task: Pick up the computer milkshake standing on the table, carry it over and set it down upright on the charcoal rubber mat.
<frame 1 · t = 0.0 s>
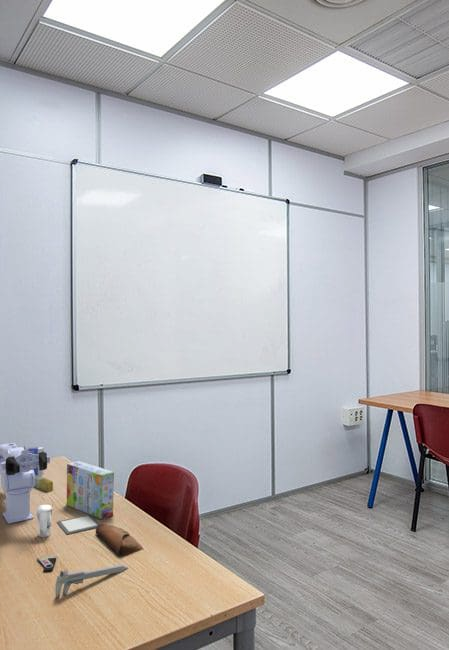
hand: (32, 467, 153), 22 cm above the table, tool horizontal, fingers open, 7 cm apart
sunglasses case: (119, 544, 151), on the table
usb flash drive: (44, 566, 137), on the table
milkshake: (45, 535, 155), on the table
mat: (78, 524, 163), on the table
caliper: (93, 583, 128), on the table
snack box: (89, 510, 176), on the table
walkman: (33, 476, 214), on the table
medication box: (41, 489, 198), on the table
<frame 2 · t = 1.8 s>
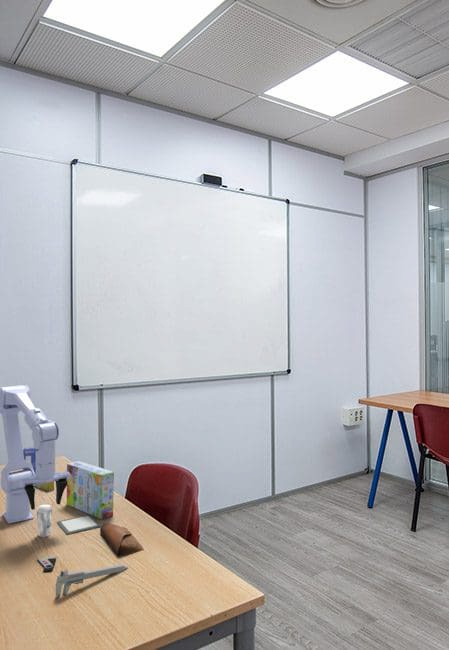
hand: (45, 506, 155), 9 cm above the table, tool pointing down, fingers open, 7 cm apart
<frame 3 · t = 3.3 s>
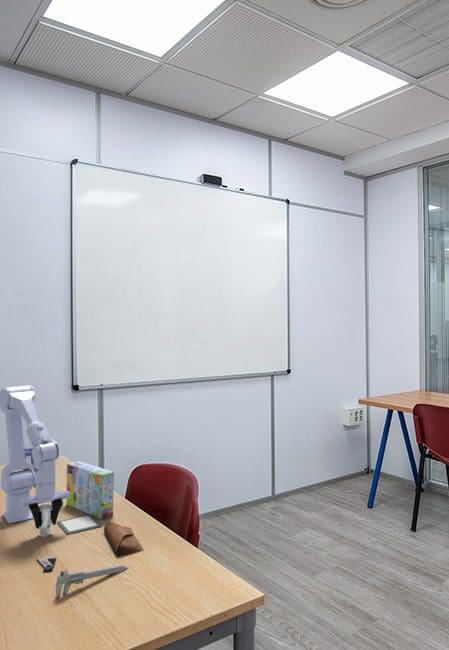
hand: (45, 525, 155), 3 cm above the table, tool pointing down, fingers closed on milkshake, 4 cm apart
milkshake: (45, 535, 155), on the table, touching gripper
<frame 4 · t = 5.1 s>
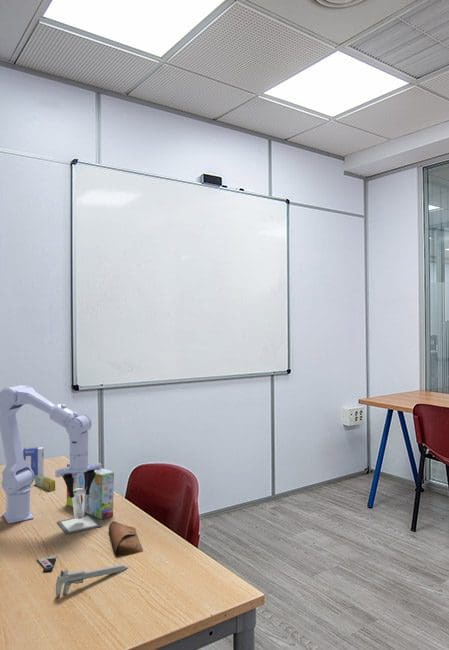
hand: (78, 495, 163), 10 cm above the table, tool pointing down, fingers closed on milkshake, 4 cm apart
milkshake: (80, 517, 163), point 2 cm above the table, touching gripper
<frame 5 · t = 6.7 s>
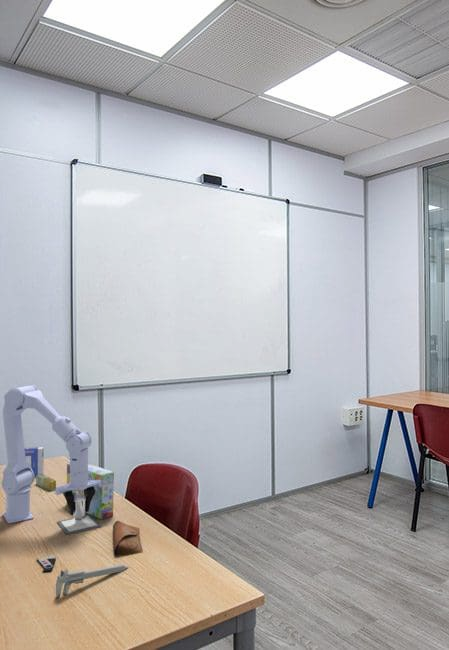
hand: (79, 512, 163), 4 cm above the table, tool pointing down, fingers closed on milkshake, 4 cm apart
milkshake: (80, 524, 163), on the table, touching gripper, mat
when the fingers open (4 cm above the table, at t = 6.9 s): milkshake stays where it is, resting on mat.
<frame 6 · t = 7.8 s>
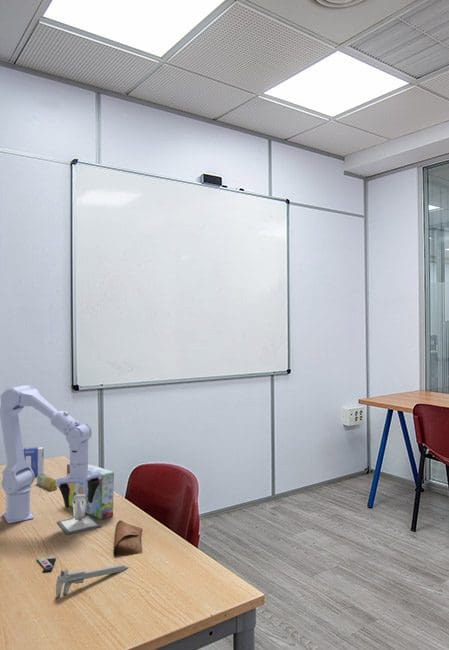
hand: (78, 504, 163), 7 cm above the table, tool pointing down, fingers open, 7 cm apart
milkshake: (80, 524, 163), resting on mat
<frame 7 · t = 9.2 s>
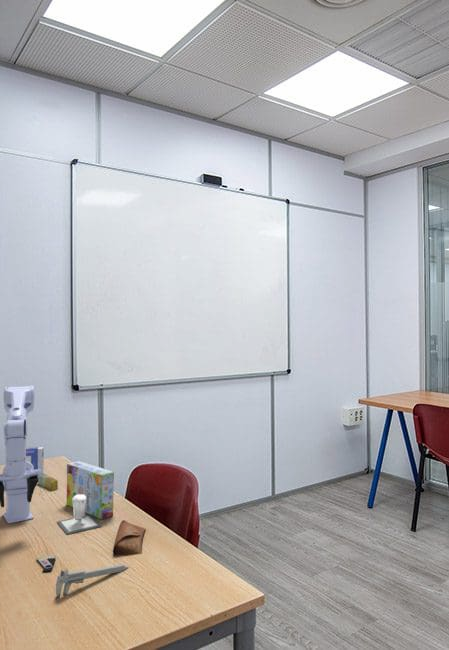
hand: (15, 503, 153), 10 cm above the table, tool pointing down, fingers open, 7 cm apart
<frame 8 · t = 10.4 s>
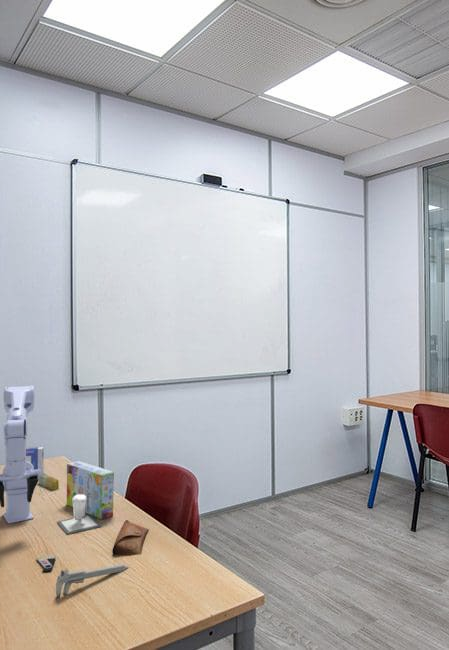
hand: (15, 503, 153), 10 cm above the table, tool pointing down, fingers open, 7 cm apart
at the end: milkshake inside the target area on the mat (0.6 cm from its centre), point 0.3 cm above the mat's base; milkshake tilted 0°; the gripper is holding nothing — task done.
